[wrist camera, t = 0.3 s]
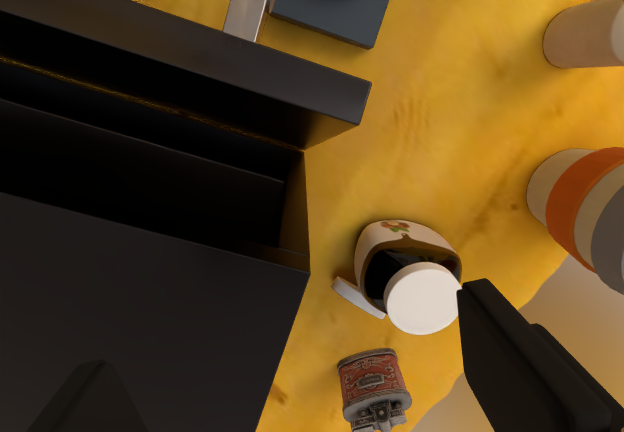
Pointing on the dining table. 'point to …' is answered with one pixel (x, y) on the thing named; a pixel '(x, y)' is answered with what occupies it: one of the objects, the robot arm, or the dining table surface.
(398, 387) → the lighter
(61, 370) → the oven
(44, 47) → the oven door
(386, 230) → the spread jar
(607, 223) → the reusable coffee cup
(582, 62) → the candle
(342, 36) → the dark grey flat block
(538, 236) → the dining table surface
